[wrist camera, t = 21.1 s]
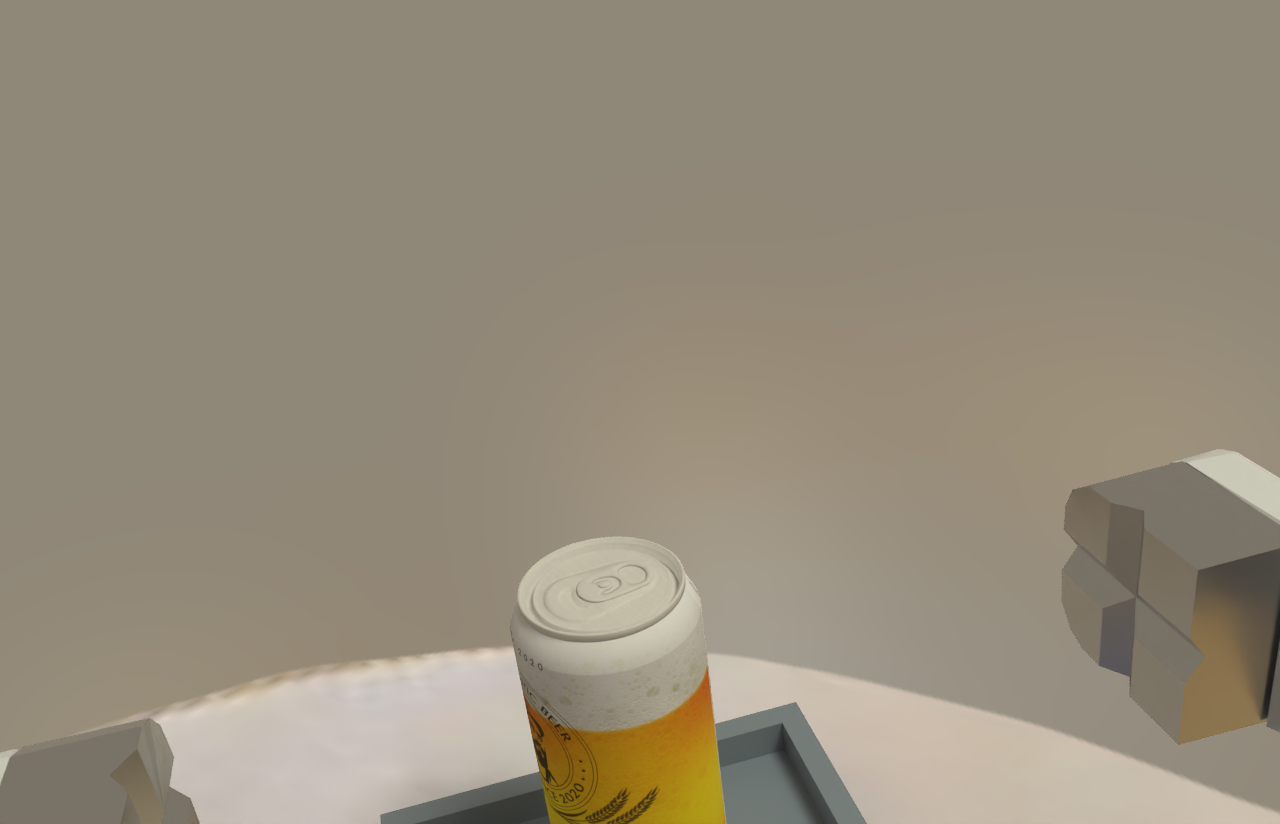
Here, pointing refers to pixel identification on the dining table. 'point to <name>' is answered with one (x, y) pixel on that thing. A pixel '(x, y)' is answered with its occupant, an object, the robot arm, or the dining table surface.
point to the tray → (750, 772)
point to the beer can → (618, 686)
